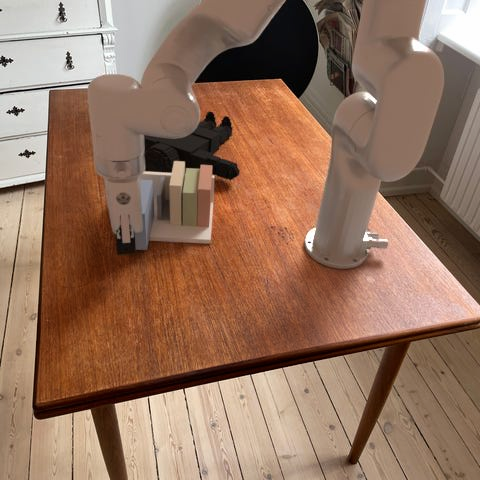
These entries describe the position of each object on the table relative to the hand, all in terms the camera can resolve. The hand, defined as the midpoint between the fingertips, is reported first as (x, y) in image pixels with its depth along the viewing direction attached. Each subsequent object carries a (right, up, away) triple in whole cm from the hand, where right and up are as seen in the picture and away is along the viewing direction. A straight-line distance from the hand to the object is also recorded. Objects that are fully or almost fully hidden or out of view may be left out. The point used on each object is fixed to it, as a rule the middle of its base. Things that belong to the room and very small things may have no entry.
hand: (126, 251), depth 87 cm
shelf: (+5, +6, +16) cm, 18 cm away
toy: (+7, +22, +37) cm, 44 cm away
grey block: (0, +4, +11) cm, 11 cm away
